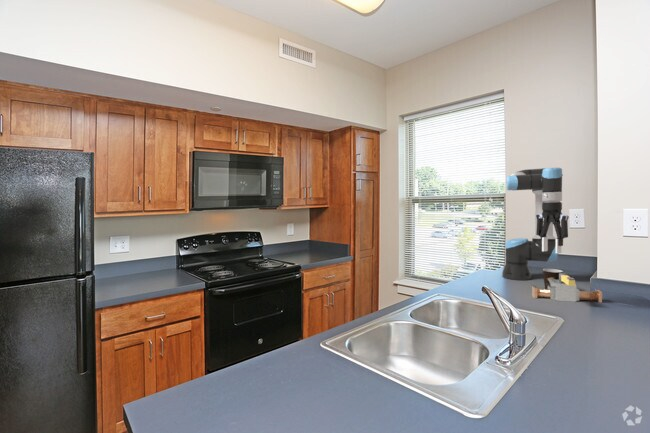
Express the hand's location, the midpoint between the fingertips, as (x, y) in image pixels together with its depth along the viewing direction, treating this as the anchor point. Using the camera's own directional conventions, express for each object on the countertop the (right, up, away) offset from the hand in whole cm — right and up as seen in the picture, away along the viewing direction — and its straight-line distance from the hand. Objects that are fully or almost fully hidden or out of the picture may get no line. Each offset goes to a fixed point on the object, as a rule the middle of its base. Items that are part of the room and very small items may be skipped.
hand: (551, 251), depth 153 cm
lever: (+6, -14, -1) cm, 16 cm away
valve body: (+8, -22, +4) cm, 24 cm away
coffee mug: (+14, -22, +18) cm, 31 cm away
